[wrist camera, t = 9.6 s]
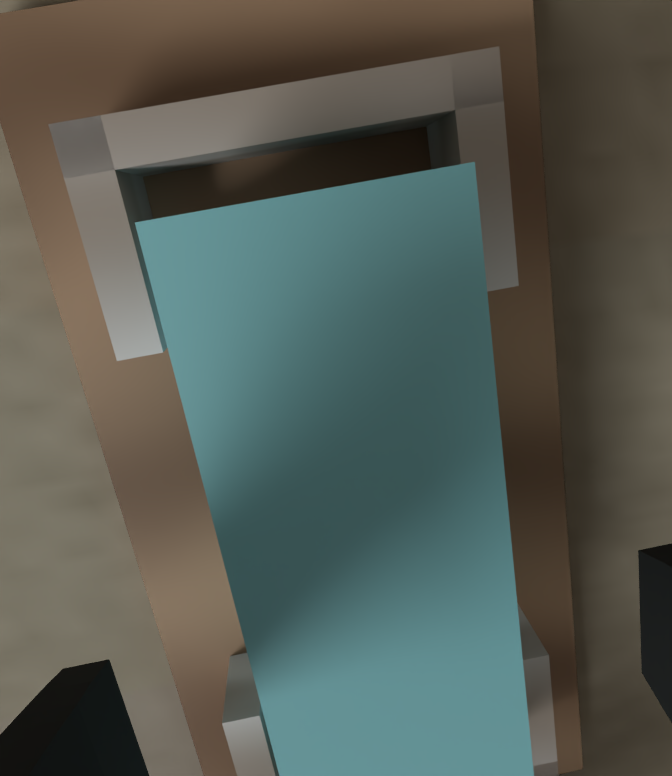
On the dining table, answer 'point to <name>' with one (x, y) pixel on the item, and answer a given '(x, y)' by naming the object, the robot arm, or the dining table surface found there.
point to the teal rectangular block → (355, 468)
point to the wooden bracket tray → (269, 180)
